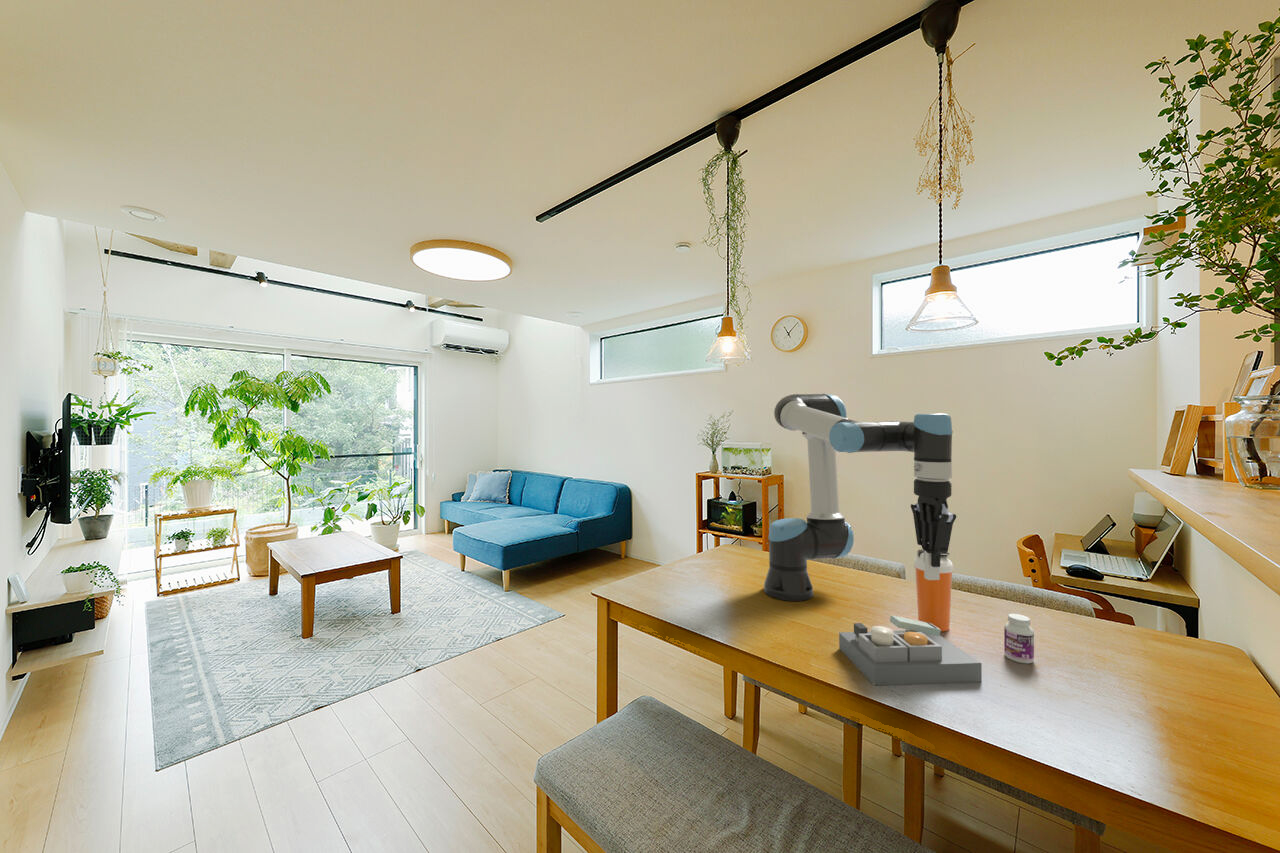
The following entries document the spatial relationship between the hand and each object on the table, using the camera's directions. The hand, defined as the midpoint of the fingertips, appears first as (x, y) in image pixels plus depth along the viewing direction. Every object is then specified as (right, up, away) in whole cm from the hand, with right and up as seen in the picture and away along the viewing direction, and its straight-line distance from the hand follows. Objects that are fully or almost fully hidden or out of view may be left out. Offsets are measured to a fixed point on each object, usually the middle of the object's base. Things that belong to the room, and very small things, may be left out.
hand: (931, 578), depth 111 cm
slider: (-17, -13, -1) cm, 22 cm away
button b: (-8, -13, -7) cm, 17 cm away
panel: (-9, -18, -4) cm, 20 cm away
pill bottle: (+19, -18, -2) cm, 26 cm away
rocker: (-4, -11, -1) cm, 12 cm away
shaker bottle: (+10, -18, +16) cm, 26 cm away
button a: (-16, -12, -7) cm, 21 cm away
